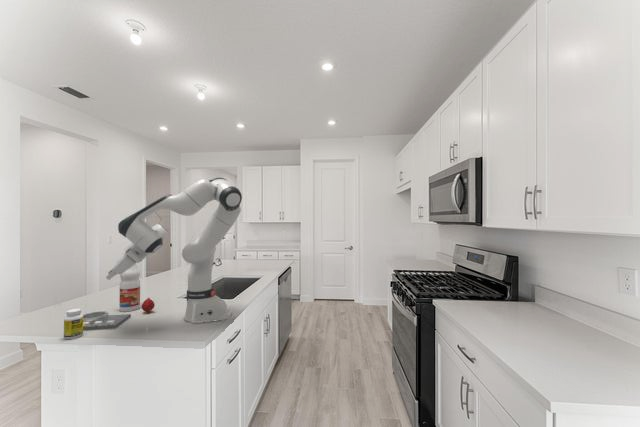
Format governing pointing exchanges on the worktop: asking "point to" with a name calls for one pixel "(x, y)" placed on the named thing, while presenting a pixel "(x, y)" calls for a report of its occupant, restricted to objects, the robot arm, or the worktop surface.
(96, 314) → the lockout collar
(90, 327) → the plate
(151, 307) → the strawberry
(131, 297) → the fruit juice
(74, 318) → the pill bottle
